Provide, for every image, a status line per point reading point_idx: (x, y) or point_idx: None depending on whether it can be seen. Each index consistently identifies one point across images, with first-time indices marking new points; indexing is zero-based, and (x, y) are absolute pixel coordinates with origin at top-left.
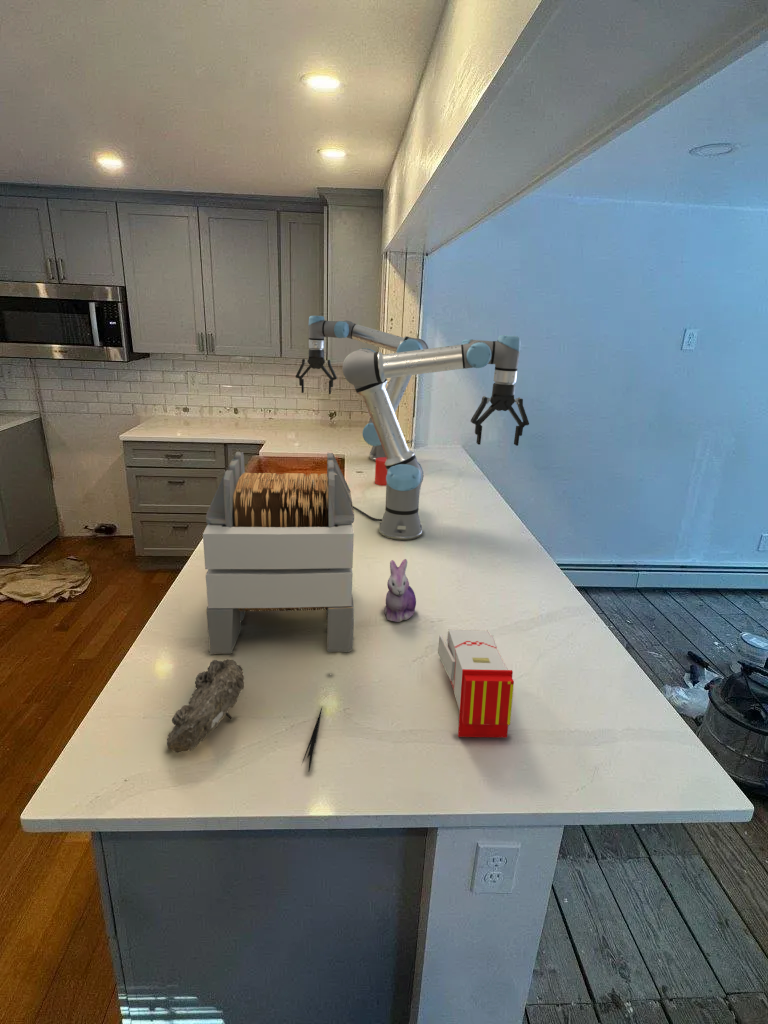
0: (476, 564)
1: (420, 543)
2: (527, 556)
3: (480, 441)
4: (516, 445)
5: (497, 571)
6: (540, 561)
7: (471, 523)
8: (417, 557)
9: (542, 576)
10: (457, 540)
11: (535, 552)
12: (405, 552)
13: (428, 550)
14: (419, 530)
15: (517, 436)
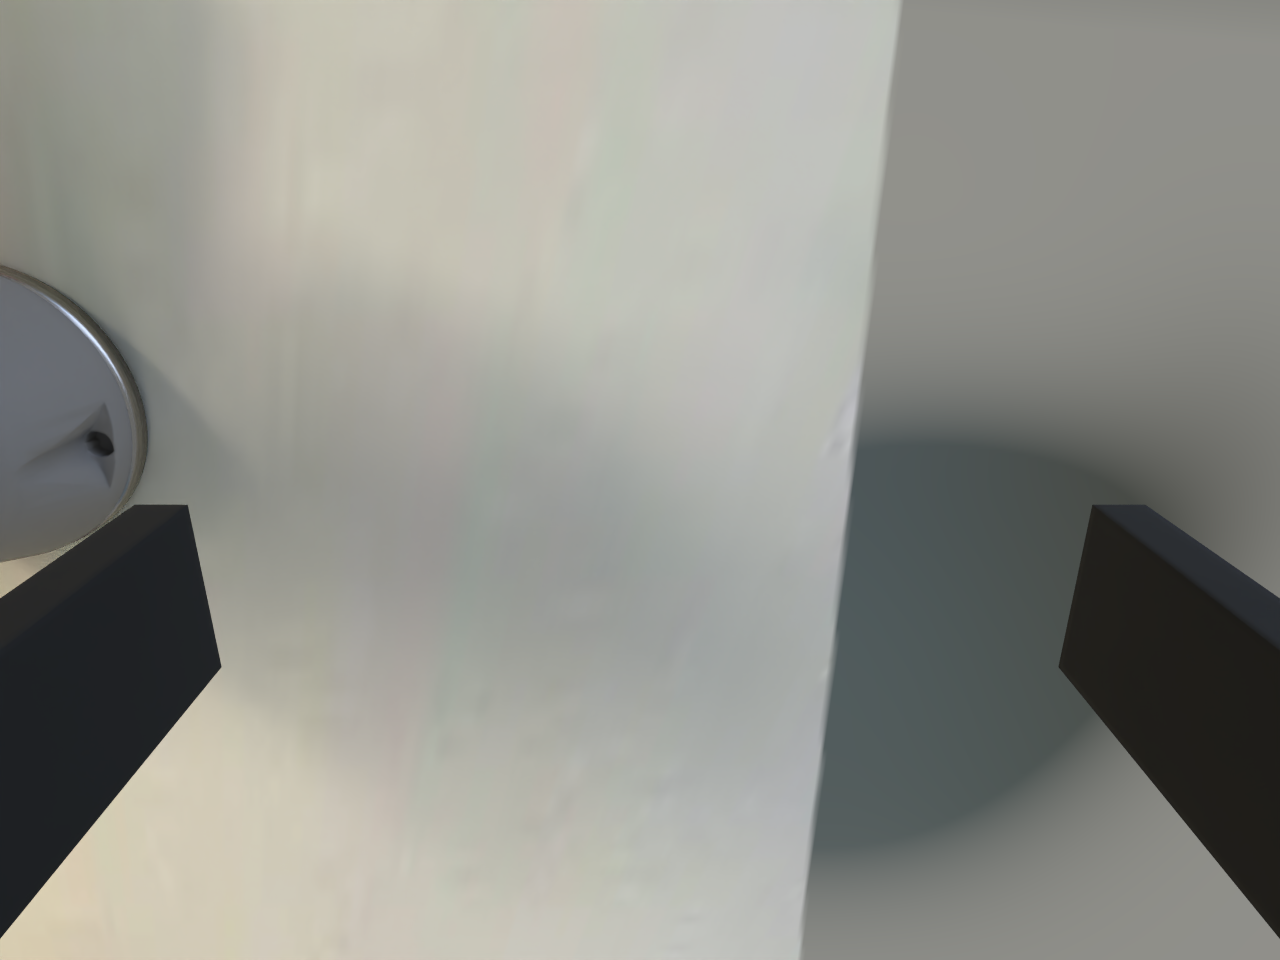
0: (447, 811)
1: None
2: (746, 730)
3: (180, 714)
4: (1069, 666)
5: (536, 871)
6: (793, 781)
7: (529, 215)
8: None
9: (734, 912)
10: (382, 530)
11: (814, 685)
12: None
13: None
14: (106, 504)
15: (1193, 821)
